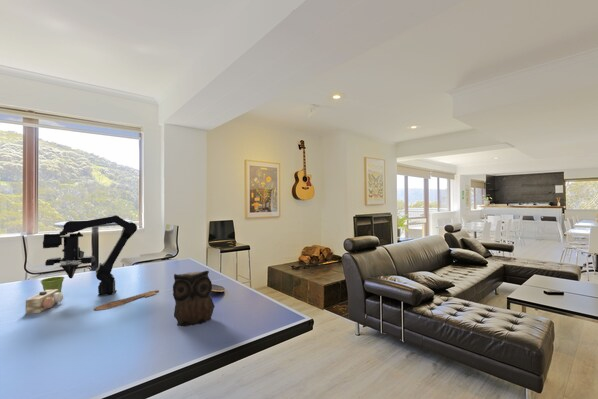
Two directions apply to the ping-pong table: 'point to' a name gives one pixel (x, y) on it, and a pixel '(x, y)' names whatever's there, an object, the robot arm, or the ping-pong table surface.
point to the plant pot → (52, 283)
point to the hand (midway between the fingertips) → (71, 278)
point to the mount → (38, 301)
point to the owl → (192, 298)
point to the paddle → (124, 301)
